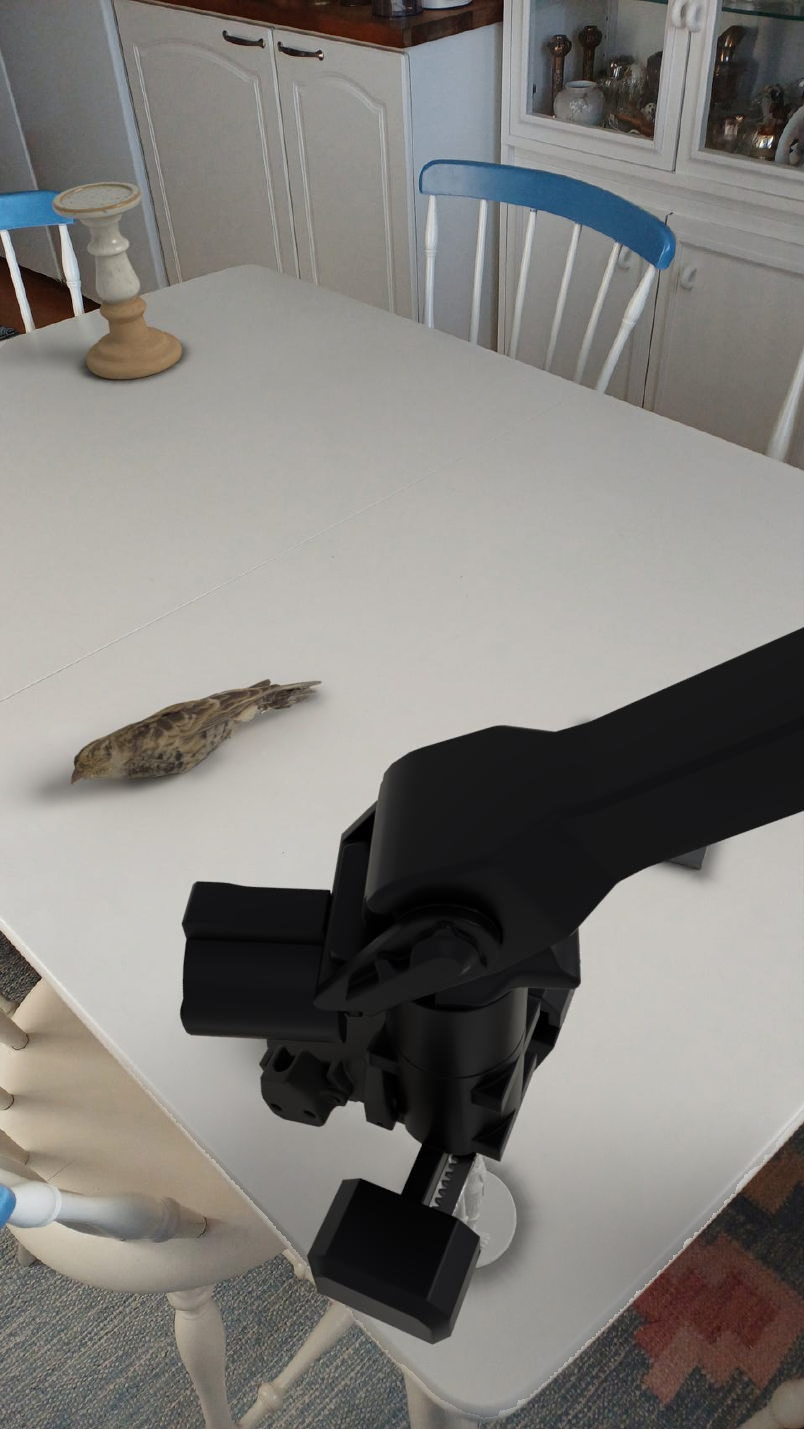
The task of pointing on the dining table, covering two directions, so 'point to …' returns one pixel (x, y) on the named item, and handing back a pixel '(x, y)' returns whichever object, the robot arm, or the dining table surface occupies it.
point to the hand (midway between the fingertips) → (460, 1184)
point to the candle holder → (117, 285)
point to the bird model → (181, 733)
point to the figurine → (485, 1211)
